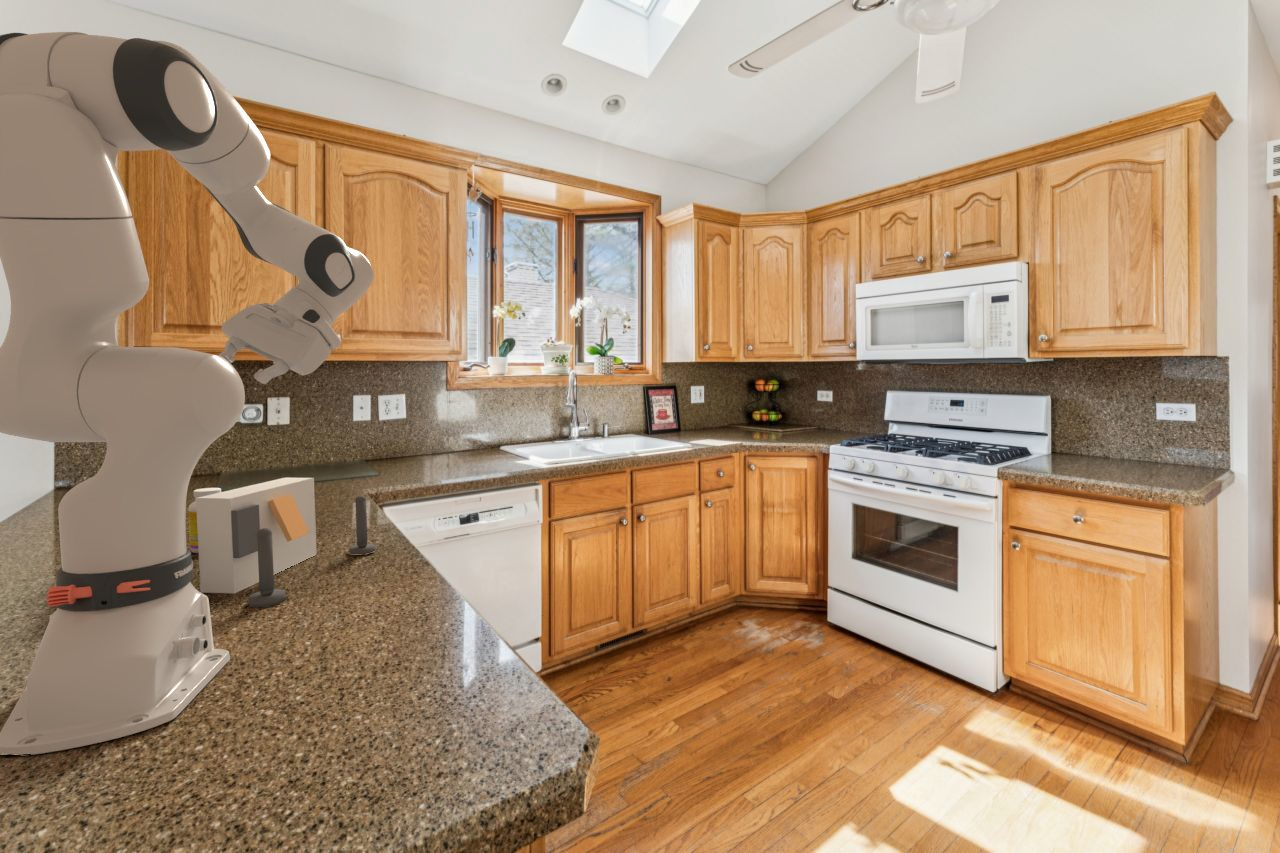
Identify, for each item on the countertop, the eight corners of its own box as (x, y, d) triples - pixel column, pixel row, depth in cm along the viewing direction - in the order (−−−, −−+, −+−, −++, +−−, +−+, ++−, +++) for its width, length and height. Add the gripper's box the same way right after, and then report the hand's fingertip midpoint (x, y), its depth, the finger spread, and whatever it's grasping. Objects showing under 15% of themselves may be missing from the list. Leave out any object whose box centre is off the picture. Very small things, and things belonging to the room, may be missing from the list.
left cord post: (283, 604, 93) (280, 529, 92) (246, 609, 91) (242, 533, 90) (287, 594, 98) (284, 523, 97) (251, 599, 95) (248, 526, 95)
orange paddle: (309, 532, 110) (291, 494, 110) (292, 539, 105) (272, 499, 105) (305, 534, 111) (286, 496, 110) (287, 541, 106) (267, 501, 105)
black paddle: (260, 549, 102) (258, 504, 102) (239, 558, 97) (236, 510, 97) (255, 549, 102) (253, 504, 102) (233, 558, 97) (231, 510, 97)
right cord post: (375, 554, 121) (374, 496, 120) (348, 557, 119) (347, 498, 118) (375, 548, 125) (373, 492, 125) (349, 550, 123) (347, 494, 122)
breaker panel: (316, 555, 120) (313, 477, 119) (234, 593, 98) (230, 498, 97) (288, 554, 120) (285, 477, 119) (200, 592, 98) (195, 497, 97)
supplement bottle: (214, 554, 120) (211, 492, 120) (182, 554, 121) (178, 492, 120) (236, 545, 127) (234, 486, 126) (206, 545, 127) (203, 486, 126)
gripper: (251, 287, 107) (188, 339, 101) (331, 322, 101) (269, 379, 94) (271, 312, 112) (212, 363, 106) (348, 347, 106) (290, 402, 99)
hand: (239, 371), depth 100 cm, fingers open, 8 cm apart
